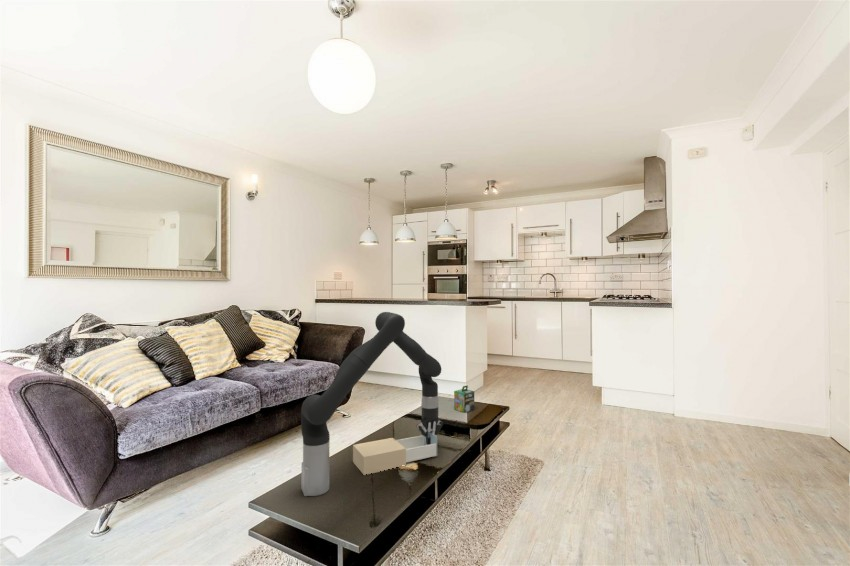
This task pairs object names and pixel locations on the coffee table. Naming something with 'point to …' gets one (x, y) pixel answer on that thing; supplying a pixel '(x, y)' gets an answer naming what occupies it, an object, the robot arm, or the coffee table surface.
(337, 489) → the coffee table surface
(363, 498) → the coffee table surface
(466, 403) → the chalk box
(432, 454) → the inner tray
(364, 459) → the sleeve
